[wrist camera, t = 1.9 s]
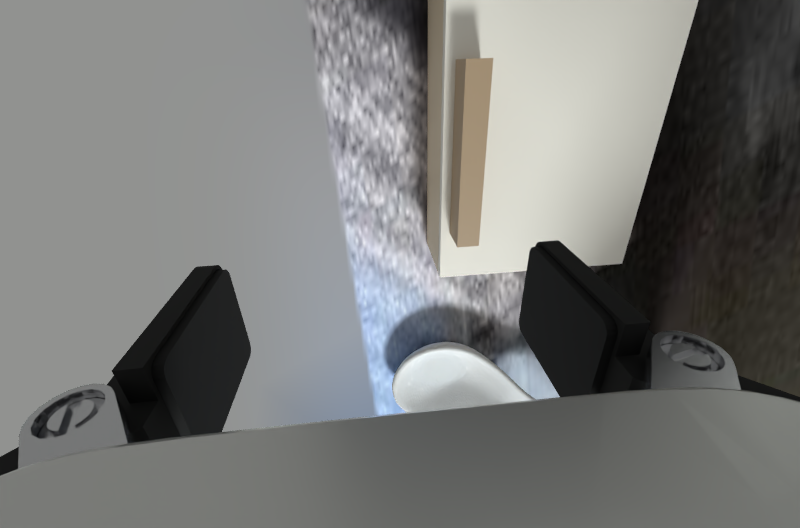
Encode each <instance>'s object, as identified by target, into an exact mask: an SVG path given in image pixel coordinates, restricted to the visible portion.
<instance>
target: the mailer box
mask: <svg viewBox="0 0 800 528" xmlns="http://www.w3.org/2000/svg"><path fill="white" fill-rule="evenodd" d="M443 9H444V0H428V95H427V244H428V247H429V250H430V252H431V255H432V258H433V260H434V263H435V266H436V268H437V271H438V253H439V205H440V156H441V107H442V58H443Z"/></svg>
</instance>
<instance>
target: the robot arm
mask: <svg viewBox="0 0 800 528" xmlns="http://www.w3.org/2000/svg"><path fill="white" fill-rule="evenodd" d="M650 323H651V322H650V321H649V320H648V319H647V318H645V317H644V316H643V315H642V314H641V313H640V312H639V311H638V310H637V309H635V308H634V307H633V306H632V305H631V304H630V303H629V302H628V301H626V300H625V299H624V298H623V297H622V296H621V295H620V294H619V293H617V292H616V291H615V290H614V289H613V288H612V287H611V286H610V285H608V284H607V283H606V282H605V281H604V280H603V279H602V278H601V277H599V276H598V275H597V274H596V273H595V272H594V271H593V270H592V269H591V268H589V267H588V266H587V265H586V264H585V263H584V262H583V261H582V260H580V259H579V258H578V257H577V256H576V255H575V254H574V253H573V252H571V251H570V250H569V249H568V248H567V247H566V246H565V245H564V244H562V243H561V242H560V241H558V240H556V241H542V242H538V243H537V244H536V246H535V247H532V248H531V249H530V252H529V258H528V265H527V272H526V278H525V285H524V292H523V298H522V305H521V312H520V318H519V326H520V330H521V332H522V334H523V336H524V338H525V339H526V341H527V343H528V344H529V346H530V348H531V349H532V351H533V353H534V354H535V356H536V358H537V359H538V361H539V363H540V364H541V366H542V368H543V369H544V371H545V373H546V374H547V376H548V378H549V379H550V381H551V383H552V384H553V386H554V388H555V389H556V391H557V393H558V394H559V396H560V397H559V398H548V399H538V400H528V401H517V402H507V403H497V404H486V405H476V406H466V407H456V408H446V409H436V410H427V411H417V412H407V413H397V414H387V415H378V416H369V417H358V418H349V419H339V420H331V421H321V422H312V423H302V424H294V425H284V426H274V427H265V428H256V429H248V430H237V431H229V432H222V430H223V427H224V424H225V422H226V419H227V416H228V414H229V411H230V408H231V406H232V403H233V400H234V398H235V395H236V392H237V390H238V387H239V384H240V382H241V379H242V376H243V374H244V371H245V368H246V365H247V363H248V360H249V357H250V353H251V347H250V342H249V339H248V335H247V332H246V328H245V325H244V322H243V318H242V315H241V311H240V308H239V304H238V301H237V298H236V294H235V291H234V287H233V284H232V281H231V277H230V274H229V272H228V271H227V270H222V268H221V267H220V266H219V265H216V266H202V267H196V268H194V270H193V271H192V272H191V273H190V275H189V276H188V277H187V278H186V279H185V281H184V282H183V283H182V285H181V286H180V287H179V288H178V289H177V291H176V292H175V293H174V294H173V296H172V297H171V298H170V299H169V301H168V302H167V303H166V304H165V306H164V307H163V308H162V309H161V310H160V312H159V313H158V314H157V315H156V317H155V318H154V319H153V320H152V322H151V323H150V324H149V325H148V327H147V328H146V329H145V330H144V332H143V333H142V334H141V335H140V336H139V338H138V339H137V340H136V342H135V343H134V344H133V345H132V346H131V348H130V349H129V350H128V351H127V353H126V354H125V355H124V356H123V357H122V359H121V360H120V361H119V362H118V364H117V365H116V366H115V367H114V369H113V370H112V372H113V374H114V376H113V378H112V379H111V380H110V382H109V383H108V384H107V385H105V384H89V385H84V386H80V387H77V388H74V389H71V390H68V391H66V392H64V393H62V394H60V395H58V396H56V397H54V398H52V399H51V400H49V401H48V402H46V403H45V404H43V405H42V406H40V407H39V408H38V409H37V410H36V411H35V412H34V413H33V414H31V415H30V416H29V418H28V419H27V420H26V422H25V423H24V424H23V426H22V428H21V431H20V434H19V447H18V448H16V449H14V450H12V451H10V452H8V453H7V454H5V455H3V456H1V457H0V528H800V397H798V396H795V395H792V394H789V393H786V392H783V391H781V390H778V389H775V388H772V387H769V386H766V385H764V384H761V383H758V382H755V381H752V380H749V379H747V378H744V377H741V376H738V375H737V372H736V368H735V364H734V362H733V360H732V358H731V357H730V356H729V355H728V354H727V353H726V352H725V351H724V350H723V349H722V348H720V347H719V346H717V345H716V344H714V343H713V342H711V341H708V340H706V339H704V338H702V337H699V336H696V335H693V334H690V333H685V332H680V331H664V332H660V333H658V334H656V335H654V334H653V333H652V332H651V331H650V330H649V326H650Z"/></svg>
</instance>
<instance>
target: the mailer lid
mask: <svg viewBox="0 0 800 528" xmlns="http://www.w3.org/2000/svg"><path fill="white" fill-rule="evenodd" d="M697 4H698V0H444V9H443V58H442V107H441V156H440V205H439V253H438V274H439V276H440V277H452V276H466V275H479V274H492V273H505V272H519V271H527V265H528V258H529V252H530V249H531V248H532V247H535V246H536V244H537V243H538V242H542V241H556V240H558V241H560V242H561V243H562V244H564V245H565V246H566V247H567V248H568V249H569V250H570V251H571V252H573V253H574V254H575V255H576V256H577V257H578V258H579V259H580V260H582V261H583V262H584V263H585V264H586V265H587V266H598V265H612V264H622V262H623V259H624V255H625V252H626V248H627V245H628V242H629V238H630V235H631V231H632V228H633V224H634V221H635V217H636V214H637V211H638V207H639V204H640V200H641V197H642V193H643V190H644V186H645V183H646V180H647V176H648V173H649V169H650V166H651V162H652V159H653V155H654V152H655V149H656V145H657V142H658V138H659V135H660V131H661V128H662V124H663V121H664V118H665V114H666V111H667V107H668V104H669V100H670V97H671V93H672V90H673V87H674V83H675V80H676V76H677V73H678V69H679V66H680V62H681V59H682V56H683V52H684V49H685V45H686V42H687V38H688V35H689V31H690V28H691V25H692V21H693V18H694V14H695V11H696V7H697Z"/></svg>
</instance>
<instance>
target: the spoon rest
mask: <svg viewBox="0 0 800 528" xmlns="http://www.w3.org/2000/svg"><path fill="white" fill-rule="evenodd" d="M392 390H393V395H394V398H395V400H396V402H397V404H398V405H399V406H400V407H401V408H402V409H403V410H404V411H406V412H417V411H427V410H436V409H446V408H456V407H466V406H476V405H486V404H497V403H507V402H517V401H528V400H536V399H534V398H533V397H531V396H530V395H529V394H527V393H526V392H525V391H524V390H522V389H521V388H520V387H519V386H518V385H517V384H516V383H515V382H514V381H513V380H512V379H511V378H510V377H509V376H508V375H507V374H506V373H505V372H504V371H502V370H501V369H500V368H499V367H498V366H496V365H495V364H494V363H493V362H492V361H490V360H489V359H488V358H486V357H485V356H484V355H482V354H481V353H479V352H478V351H476V350H474V349H473V348H471V347H468V346H466V345H463V344H460V343H455V342H438V343H433V344H429V345H426V346H424V347H422V348H420V349H418V350H416V351H414V352H413V353H412V354H410V355H409V356H408V357H407V358H406V359H405V360H403V362H402V363H401V364H400V366H399V367H398V369H397V371H396V373H395V375H394V378H393V383H392Z"/></svg>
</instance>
